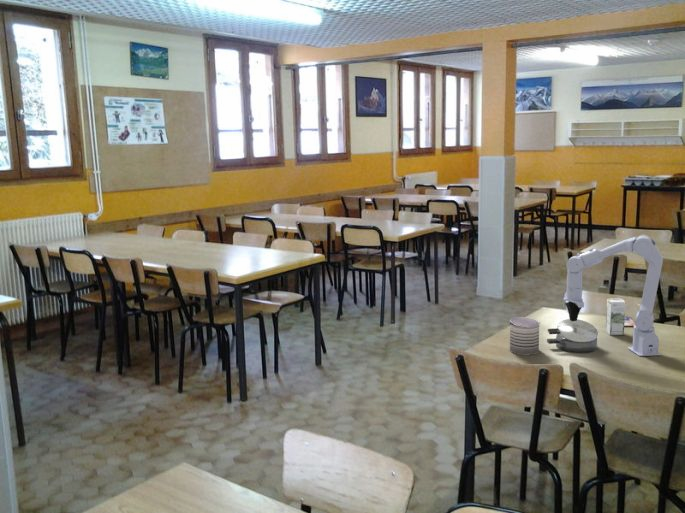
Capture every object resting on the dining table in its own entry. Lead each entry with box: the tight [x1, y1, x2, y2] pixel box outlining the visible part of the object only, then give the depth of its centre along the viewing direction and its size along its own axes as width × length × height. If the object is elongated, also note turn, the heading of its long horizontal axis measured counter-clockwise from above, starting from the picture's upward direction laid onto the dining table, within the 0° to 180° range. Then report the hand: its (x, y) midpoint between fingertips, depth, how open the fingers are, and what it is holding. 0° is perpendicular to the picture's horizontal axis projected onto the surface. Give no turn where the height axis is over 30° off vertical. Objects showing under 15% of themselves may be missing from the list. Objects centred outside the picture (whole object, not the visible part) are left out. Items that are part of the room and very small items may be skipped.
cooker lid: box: [547, 318, 599, 343], centre depth 253 cm, size 15×19×1 cm
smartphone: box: [624, 316, 635, 328], centre depth 285 cm, size 7×1×15 cm
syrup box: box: [605, 298, 626, 336], centre depth 268 cm, size 6×6×14 cm
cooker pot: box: [546, 334, 598, 354], centre depth 254 cm, size 15×19×4 cm
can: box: [508, 316, 541, 356], centre depth 252 cm, size 11×11×12 cm
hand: (573, 320), depth 257 cm, fingers closed
